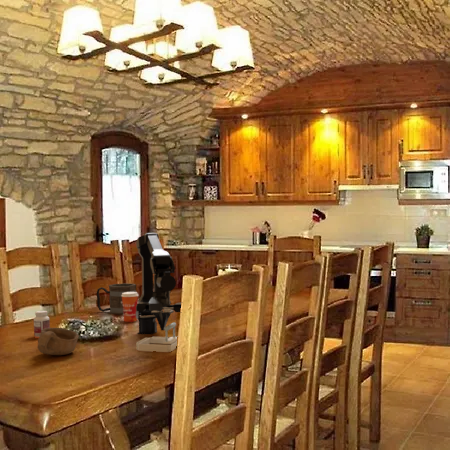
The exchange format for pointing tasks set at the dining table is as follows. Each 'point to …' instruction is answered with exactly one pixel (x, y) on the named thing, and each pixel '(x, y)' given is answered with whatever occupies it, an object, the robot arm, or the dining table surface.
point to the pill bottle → (40, 322)
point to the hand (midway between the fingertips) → (162, 330)
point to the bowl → (57, 341)
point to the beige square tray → (155, 345)
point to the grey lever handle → (171, 339)
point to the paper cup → (129, 306)
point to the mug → (116, 297)
